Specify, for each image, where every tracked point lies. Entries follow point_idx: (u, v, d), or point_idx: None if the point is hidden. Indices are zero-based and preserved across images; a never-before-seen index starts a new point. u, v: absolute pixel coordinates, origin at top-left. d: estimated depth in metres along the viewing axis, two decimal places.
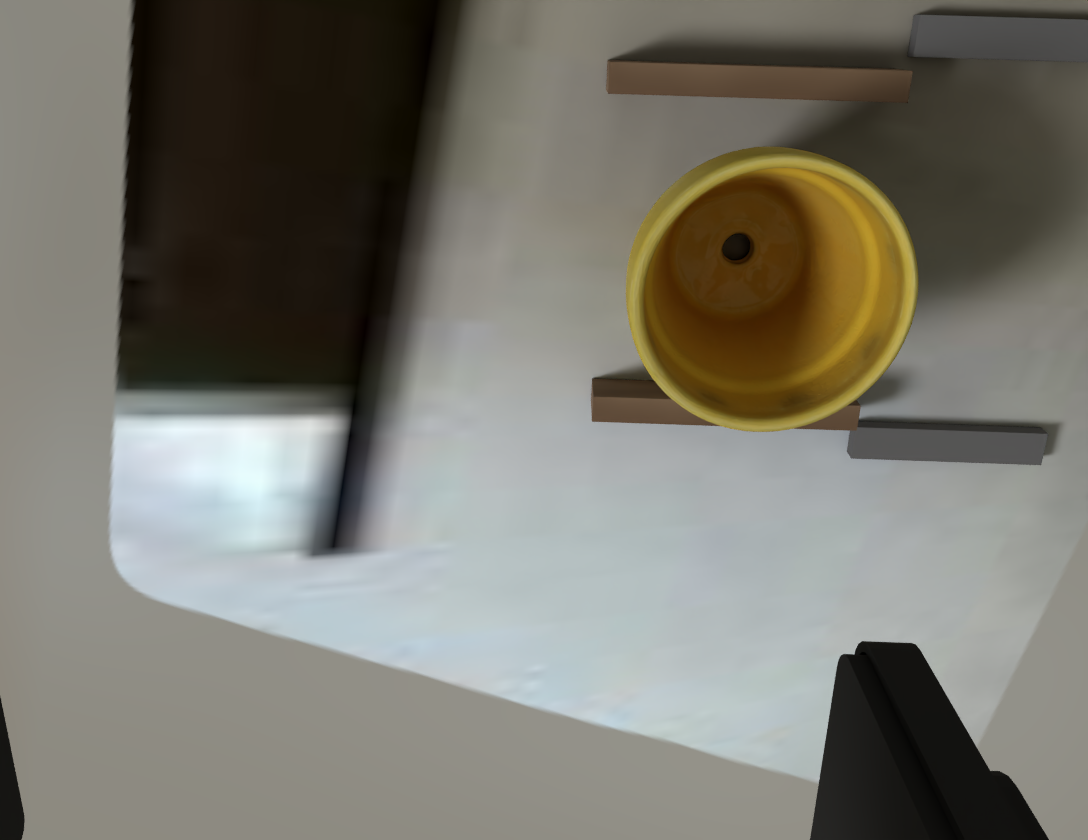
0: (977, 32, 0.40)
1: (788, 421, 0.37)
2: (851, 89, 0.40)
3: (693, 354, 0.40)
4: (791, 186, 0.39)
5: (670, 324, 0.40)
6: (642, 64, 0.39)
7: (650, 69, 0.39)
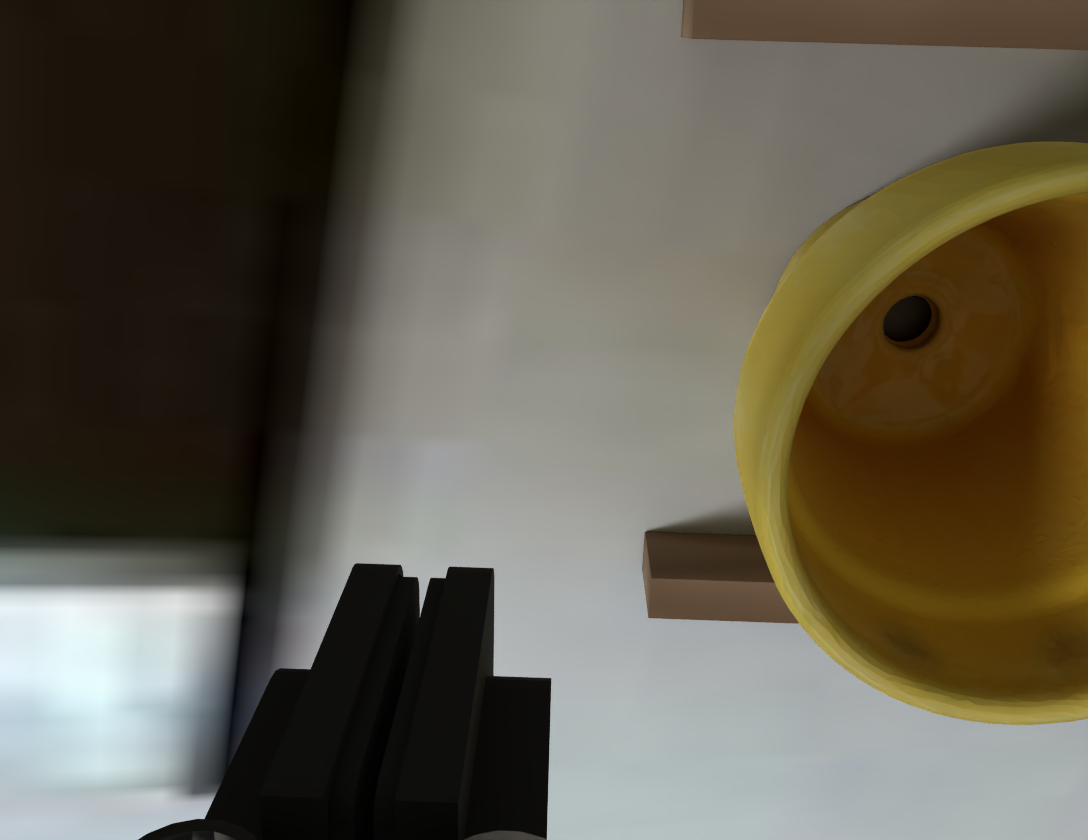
0: None
1: (1075, 706, 0.18)
2: None
3: (854, 536, 0.21)
4: (1051, 218, 0.20)
5: (808, 478, 0.21)
6: None
7: None
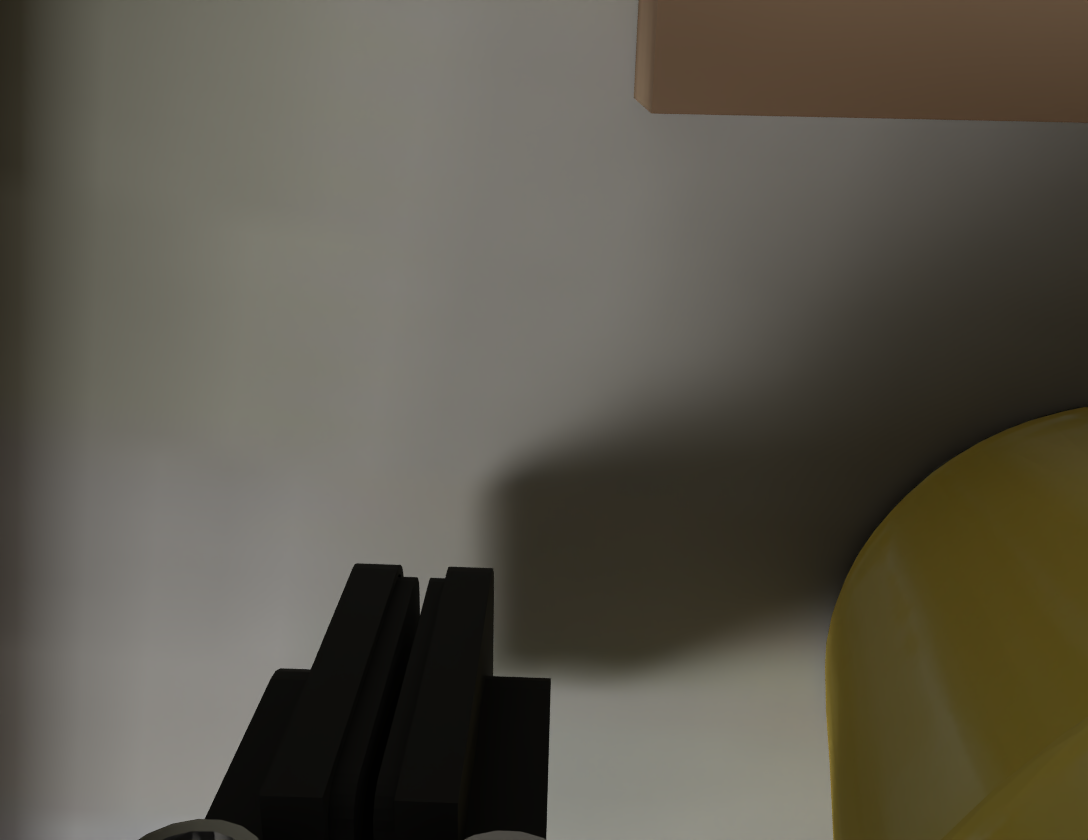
0: None
1: None
2: None
3: None
4: None
5: None
6: None
7: None
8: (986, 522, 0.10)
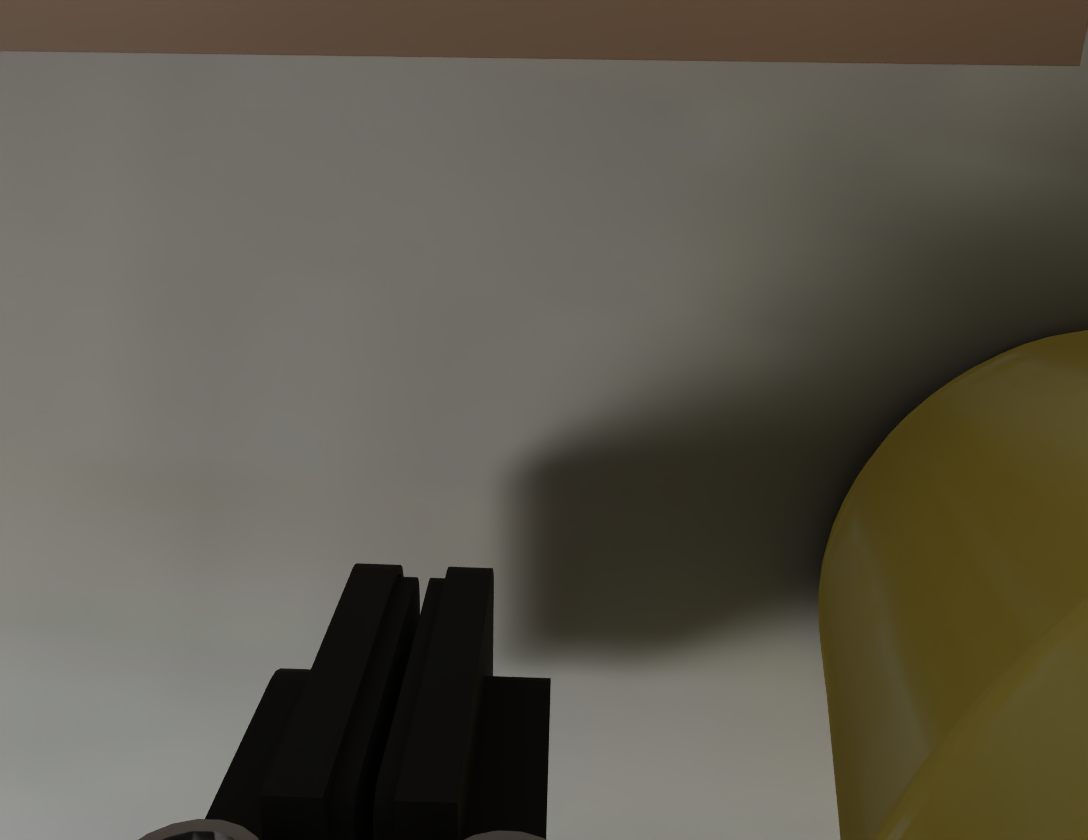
0: None
1: None
2: (815, 6, 0.08)
3: None
4: None
5: None
6: None
7: None
8: (931, 481, 0.10)
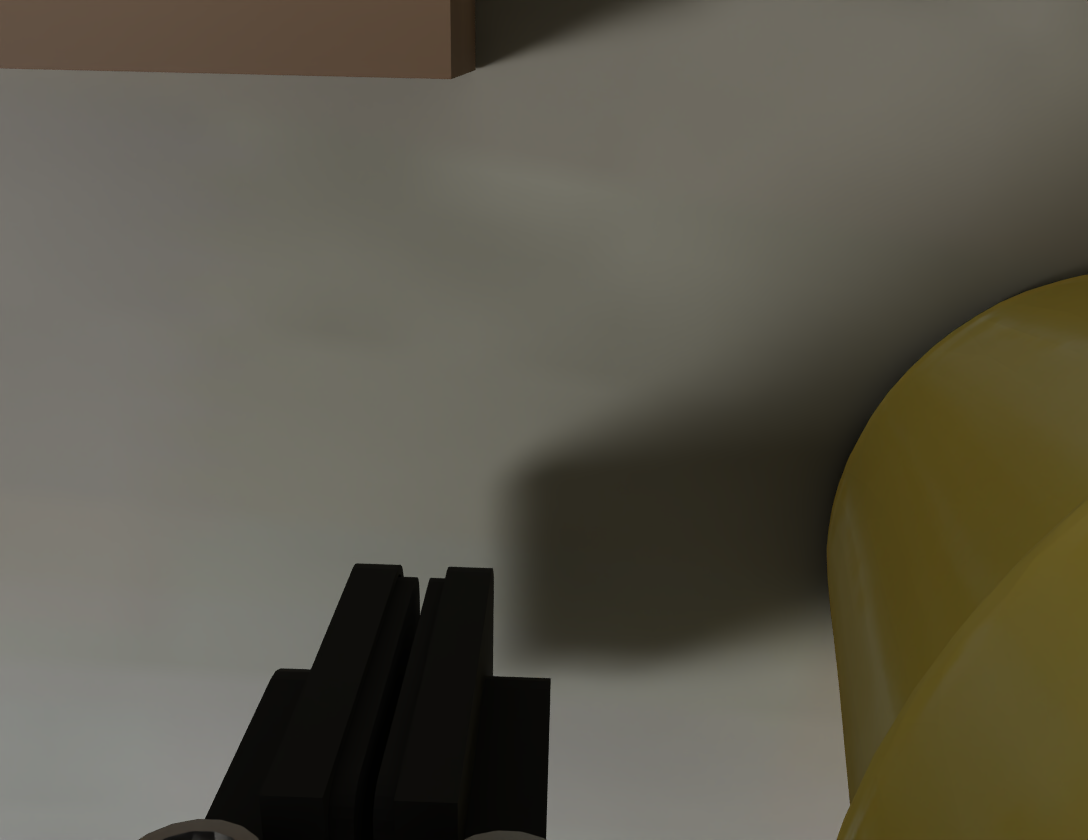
0: None
1: None
2: (180, 16, 0.08)
3: None
4: None
5: None
6: None
7: None
8: (908, 457, 0.10)
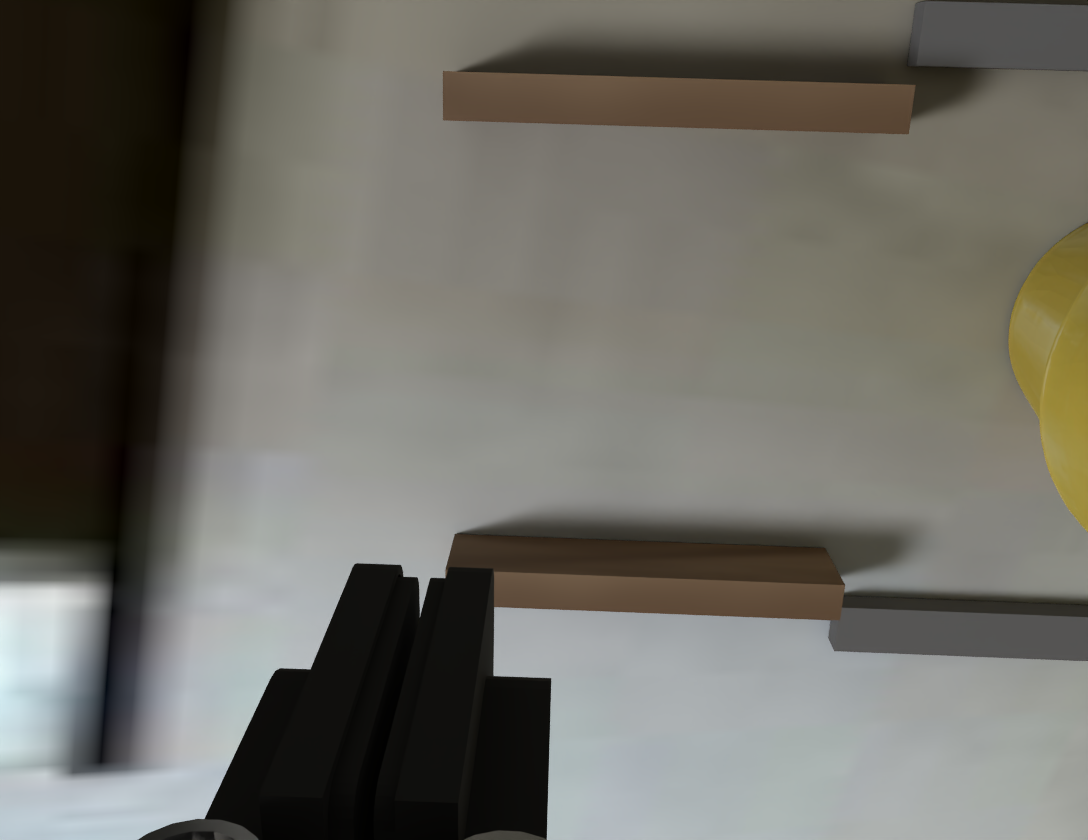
0: (1014, 28, 0.26)
1: None
2: (820, 113, 0.25)
3: None
4: None
5: None
6: (493, 75, 0.25)
7: (506, 83, 0.25)
8: (1054, 273, 0.27)
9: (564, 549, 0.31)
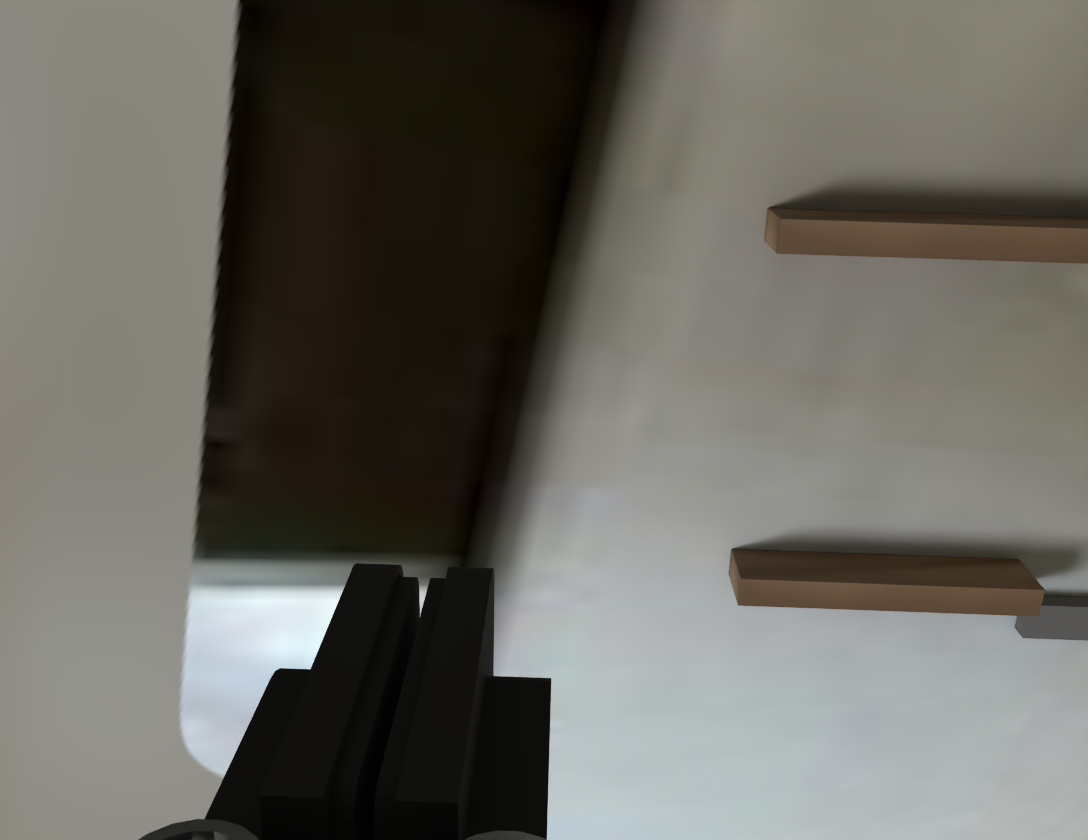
0: None
1: None
2: (1058, 249, 0.34)
3: None
4: None
5: None
6: (818, 222, 0.34)
7: (827, 227, 0.34)
8: None
9: (821, 561, 0.41)
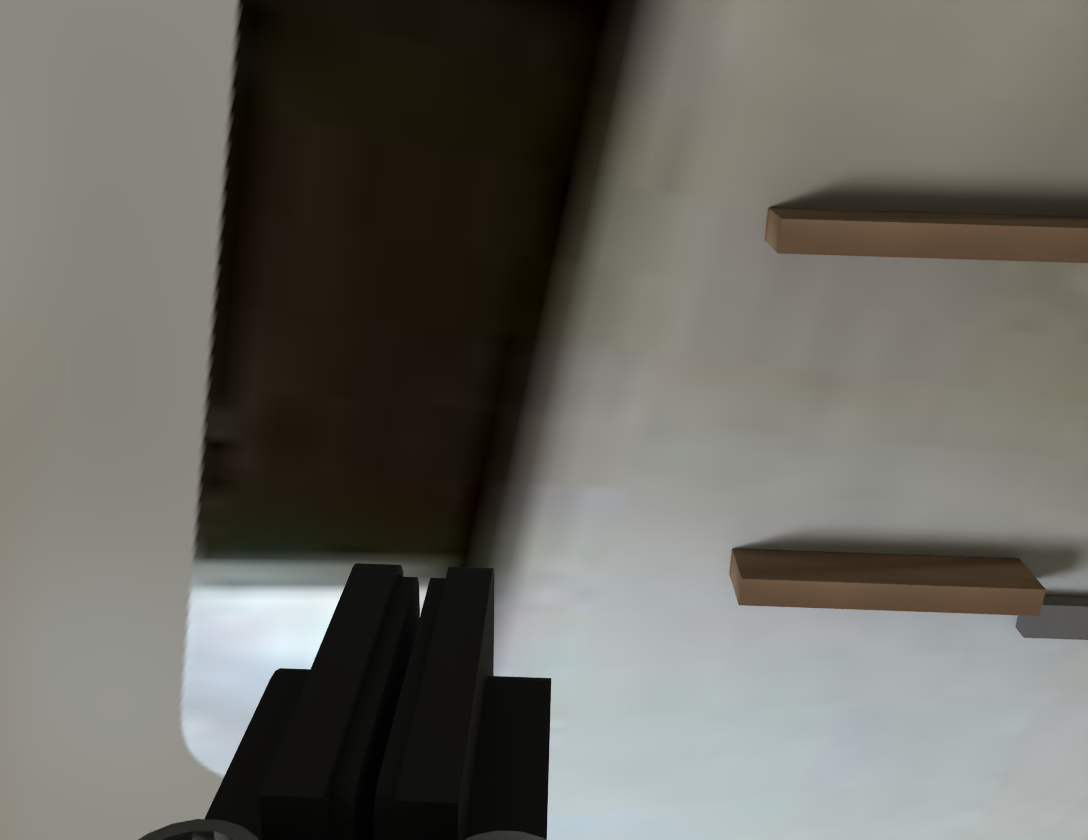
0: None
1: None
2: (1058, 249, 0.34)
3: None
4: None
5: None
6: (819, 221, 0.34)
7: (827, 227, 0.34)
8: None
9: (822, 561, 0.41)
